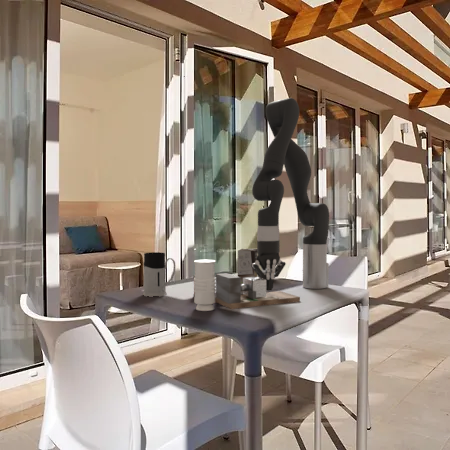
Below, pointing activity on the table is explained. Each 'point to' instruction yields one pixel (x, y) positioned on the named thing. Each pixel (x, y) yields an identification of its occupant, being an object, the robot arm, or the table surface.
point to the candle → (204, 284)
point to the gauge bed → (232, 298)
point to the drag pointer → (252, 292)
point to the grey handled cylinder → (155, 274)
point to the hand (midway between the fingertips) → (268, 290)
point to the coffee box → (246, 263)
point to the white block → (254, 286)
